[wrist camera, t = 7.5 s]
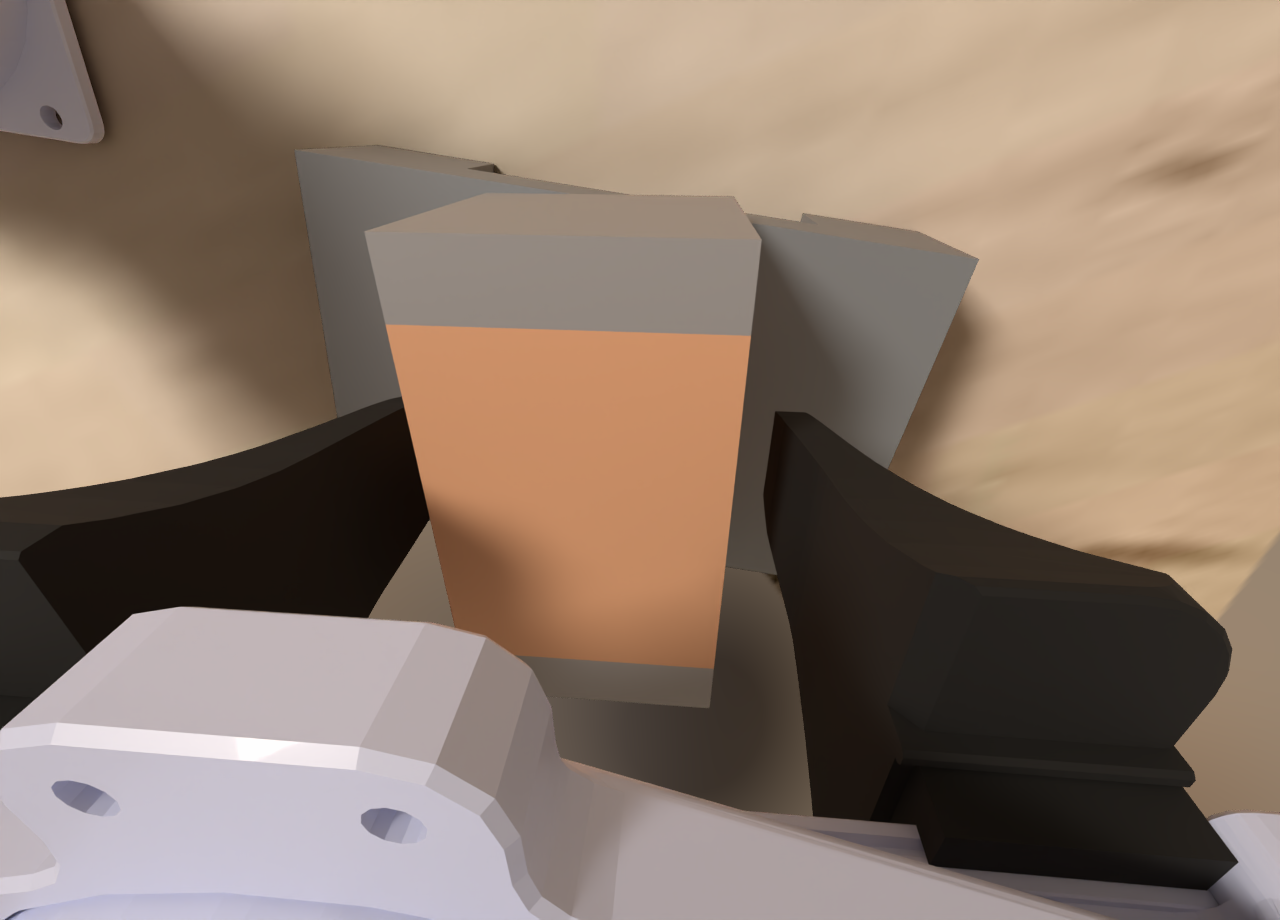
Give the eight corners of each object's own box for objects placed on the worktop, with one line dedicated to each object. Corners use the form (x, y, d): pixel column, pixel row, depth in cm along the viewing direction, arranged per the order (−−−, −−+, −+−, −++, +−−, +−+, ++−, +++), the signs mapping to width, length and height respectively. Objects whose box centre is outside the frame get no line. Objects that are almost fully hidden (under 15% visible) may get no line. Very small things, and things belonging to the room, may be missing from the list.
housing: (703, 549, 16) (709, 708, 11) (528, 540, 16) (469, 690, 12) (734, 196, 11) (761, 239, 7) (486, 192, 11) (363, 230, 7)
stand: (405, 447, 19) (351, 508, 16) (377, 145, 14) (293, 149, 11) (814, 512, 19) (838, 584, 16) (918, 231, 14) (979, 259, 11)
